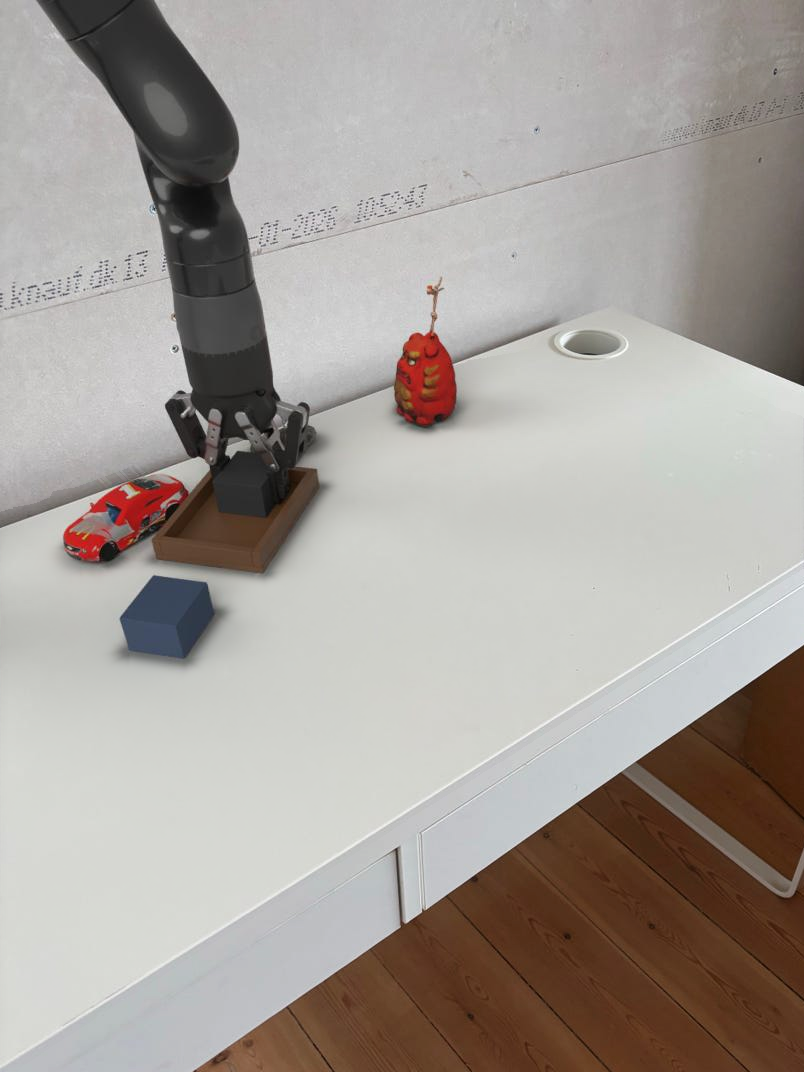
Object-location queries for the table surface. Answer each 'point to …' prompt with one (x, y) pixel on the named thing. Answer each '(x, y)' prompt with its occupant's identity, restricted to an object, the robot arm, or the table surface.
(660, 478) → the table surface
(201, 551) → the brown tray
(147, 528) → the race car
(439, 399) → the red clay folk toy
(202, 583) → the blue block
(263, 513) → the black block
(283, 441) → the corroded twin loop
